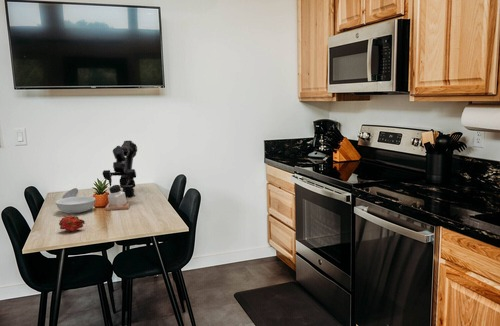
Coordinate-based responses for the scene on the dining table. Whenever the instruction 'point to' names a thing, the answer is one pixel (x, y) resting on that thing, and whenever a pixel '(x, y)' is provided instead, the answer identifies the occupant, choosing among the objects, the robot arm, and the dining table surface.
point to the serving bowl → (75, 204)
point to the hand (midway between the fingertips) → (118, 185)
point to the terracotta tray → (119, 207)
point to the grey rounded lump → (71, 193)
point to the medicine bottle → (116, 196)
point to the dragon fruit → (71, 223)
